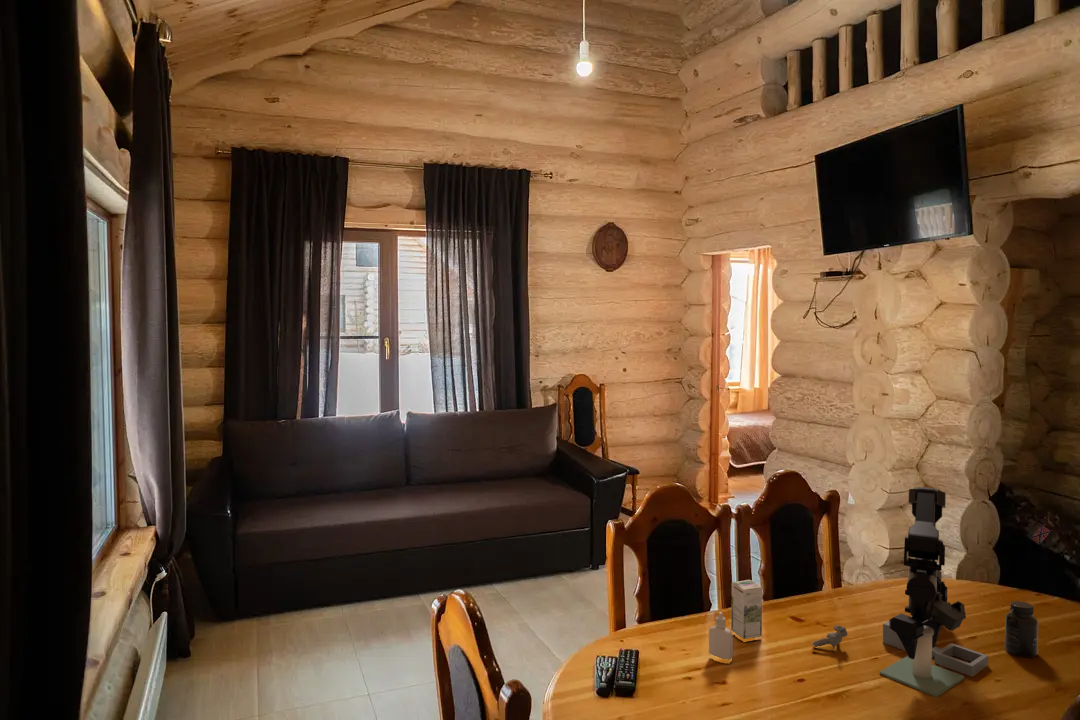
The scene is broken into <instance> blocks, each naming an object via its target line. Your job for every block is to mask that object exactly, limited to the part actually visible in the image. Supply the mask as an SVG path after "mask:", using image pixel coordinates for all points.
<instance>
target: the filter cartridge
mask: <svg viewBox="0 0 1080 720" xmlns="http://www.w3.org/2000/svg"><path fill="white" fill-rule="evenodd" d="M922 634H924V635H923V636H922V637H920V638H918V641H917V648H916V654H915V659H912V673H913V674H914V675H915V676H917V677H920V678H930V677H931V676H932V664H933V663H932V662H933V657H932V636H933V635H934V630H933V629H932V628H931V627H929V626H925V625H924V631H923V633H922Z"/></svg>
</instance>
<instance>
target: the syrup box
mask: <svg viewBox="0 0 1080 720" xmlns="http://www.w3.org/2000/svg"><path fill="white" fill-rule="evenodd" d="M730 611H731V614H730V615H731V618H730V619H731V621H730V627H731V630H732V631H733V632H735V633H736V634H737V635H739V636H740V637H741V638H743V639H748V638H755V637H760V636H762V637H763V634H762V633H763V629H762V628H763V626H762V625H763V587H762V586H761V585H760V584H758V582H755V581H753V580H751V579H745V580H740V581H734V582H733V581H732V582H731V609H730ZM731 630H730V631H731Z"/></svg>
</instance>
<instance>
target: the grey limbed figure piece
mask: <svg viewBox="0 0 1080 720" xmlns="http://www.w3.org/2000/svg"><path fill="white" fill-rule="evenodd" d="M833 630H834V631H835V632H829V633H828V634H826V637H824V638H820V639H818V640H815V641H814V640H812V642H811V644H812V646H813V645H814V646H815V647H817V646H820V647H822V646H825V645H831V646H832V650H833V649H834V650H835V647H836V646H837V645H839V644H841V642H842V641H843V638H845V637H847V636H848V631H847V628H846V627H844V626H841V625H836V624H834V626H833ZM814 646H813V647H814Z"/></svg>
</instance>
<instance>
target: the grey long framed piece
mask: <svg viewBox="0 0 1080 720" xmlns="http://www.w3.org/2000/svg"><path fill="white" fill-rule="evenodd" d="M882 643H883V644H885V643H886V644H885V645H888V646H890V645H891V647H893V646H894V648H896V647H897V648H896V649H899V648H900V649H899V650H901V649H903V650H902V651H904V650H905V648H904V646H903V644H902V642H901V640H900V639H899V637H898V635H897V634H896V632H894V631H893V630H891V629H890V628H889V620H888V621H886V622H884V623H882ZM904 652H906V650H905V651H904ZM955 657H957V658H955ZM932 658H934V664H936V665H938V666H940V667H941V666H942V667H945V668H947V669H950V670H951V671H955V672H958V673H959V674H960V673H961V674H963V675H966V676H969V677H971V676H972V677H974V676H975V675H977V674H978V673H979V672H981V671H983V670H984V669H986V668H988V666H989V655H988V654H984V653H982V652H979V651H976V650H972V649H970V648H967V647H964V646H961V645H957V644H954V643H952V642H951V643H949V644H947V645H946V646H944V647H943V648H941V647H939V646H936V645H935V647H934V648H932ZM959 658H960V659H959ZM961 659H962V660H961ZM964 660H965V661H964ZM966 661H967V662H966ZM968 661H969V662H968ZM985 667H986V668H985ZM976 673H977V674H976Z"/></svg>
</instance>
